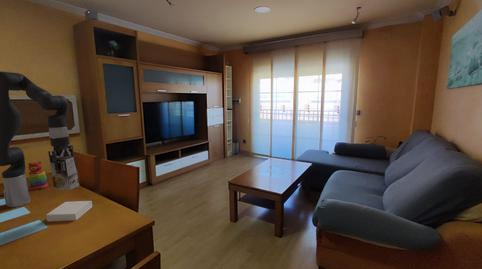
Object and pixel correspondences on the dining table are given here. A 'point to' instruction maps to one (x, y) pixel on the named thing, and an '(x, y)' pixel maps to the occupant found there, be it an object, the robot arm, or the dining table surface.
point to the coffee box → (65, 174)
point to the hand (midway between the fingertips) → (64, 167)
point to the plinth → (69, 211)
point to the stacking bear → (36, 177)
